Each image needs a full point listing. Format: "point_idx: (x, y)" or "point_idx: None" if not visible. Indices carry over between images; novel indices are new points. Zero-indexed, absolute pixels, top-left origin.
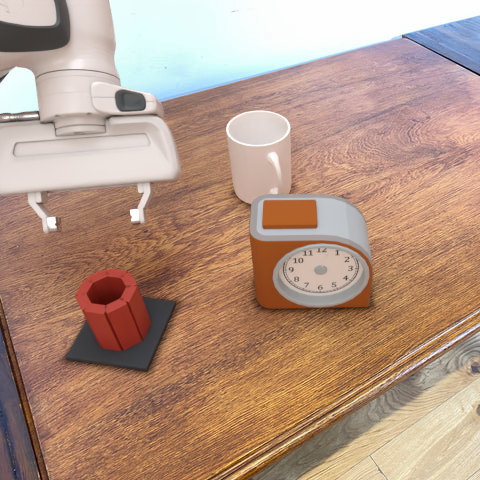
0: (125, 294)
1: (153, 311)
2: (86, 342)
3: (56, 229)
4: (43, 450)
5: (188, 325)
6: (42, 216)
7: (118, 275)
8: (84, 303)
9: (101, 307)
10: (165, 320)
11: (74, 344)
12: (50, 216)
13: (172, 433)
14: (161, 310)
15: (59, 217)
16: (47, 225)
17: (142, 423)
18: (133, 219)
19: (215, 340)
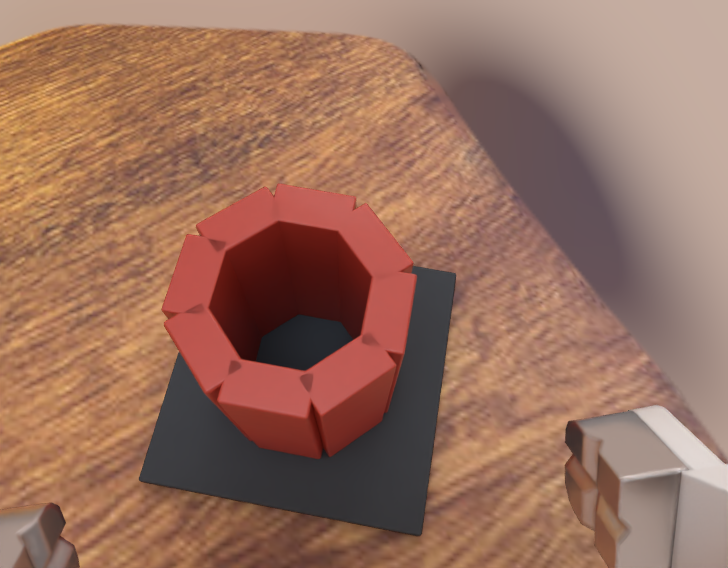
0: (205, 266)
1: (214, 433)
2: (410, 318)
3: (578, 422)
4: (423, 74)
5: (101, 388)
6: (724, 473)
7: (253, 373)
8: (363, 228)
9: (292, 210)
10: (170, 394)
11: (445, 313)
12: (683, 544)
13: (146, 94)
14: (187, 438)
15: (614, 552)
16: (651, 431)
17: (217, 116)
18: (17, 516)
19: (18, 329)
